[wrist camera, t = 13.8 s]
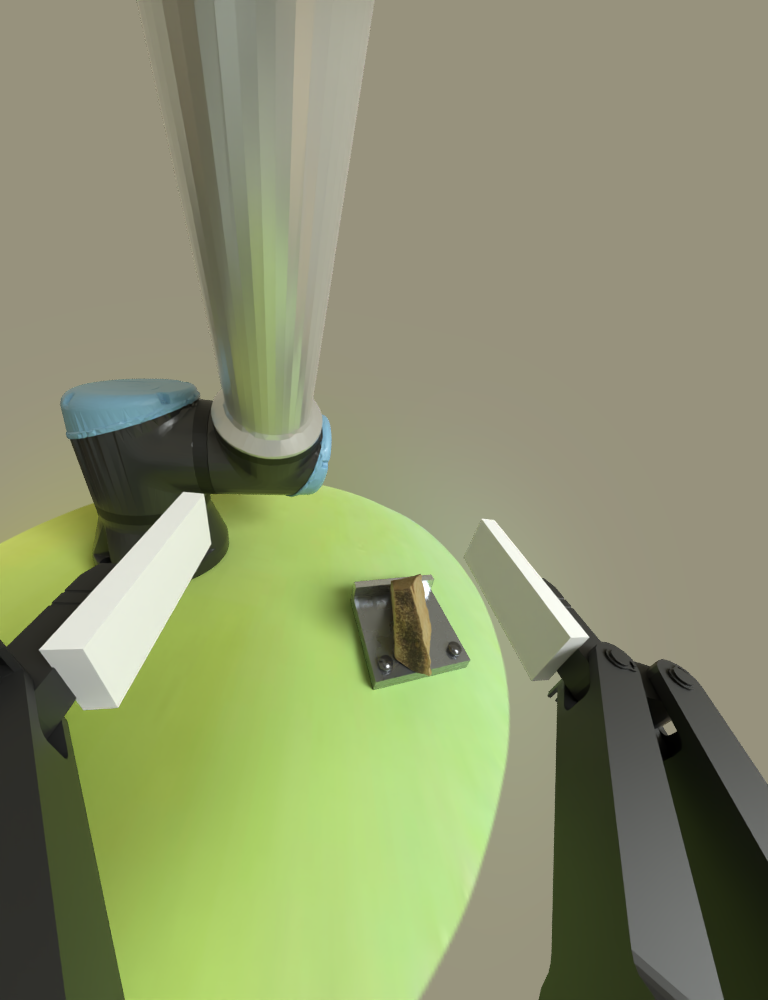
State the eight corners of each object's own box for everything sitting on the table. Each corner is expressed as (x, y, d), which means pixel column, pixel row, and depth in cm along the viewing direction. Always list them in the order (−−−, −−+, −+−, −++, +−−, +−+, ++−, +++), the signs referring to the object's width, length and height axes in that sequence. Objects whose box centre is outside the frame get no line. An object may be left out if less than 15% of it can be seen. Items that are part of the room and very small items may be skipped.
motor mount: (350, 599, 39) (354, 582, 38) (425, 590, 43) (431, 574, 42) (373, 689, 30) (379, 671, 28) (466, 667, 34) (476, 650, 32)
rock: (378, 569, 40) (346, 612, 31) (426, 543, 36) (405, 583, 27) (421, 629, 40) (401, 689, 31) (473, 609, 37) (467, 671, 28)
